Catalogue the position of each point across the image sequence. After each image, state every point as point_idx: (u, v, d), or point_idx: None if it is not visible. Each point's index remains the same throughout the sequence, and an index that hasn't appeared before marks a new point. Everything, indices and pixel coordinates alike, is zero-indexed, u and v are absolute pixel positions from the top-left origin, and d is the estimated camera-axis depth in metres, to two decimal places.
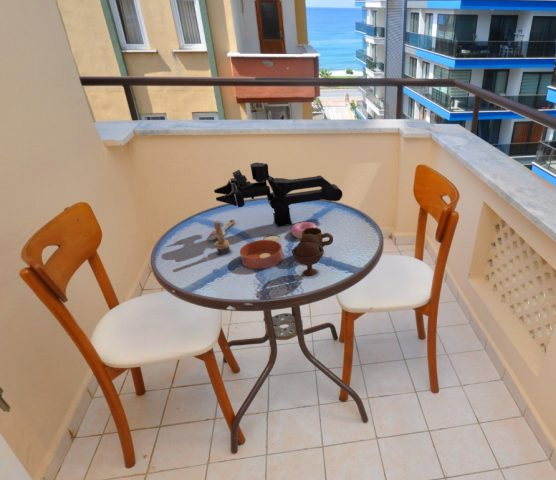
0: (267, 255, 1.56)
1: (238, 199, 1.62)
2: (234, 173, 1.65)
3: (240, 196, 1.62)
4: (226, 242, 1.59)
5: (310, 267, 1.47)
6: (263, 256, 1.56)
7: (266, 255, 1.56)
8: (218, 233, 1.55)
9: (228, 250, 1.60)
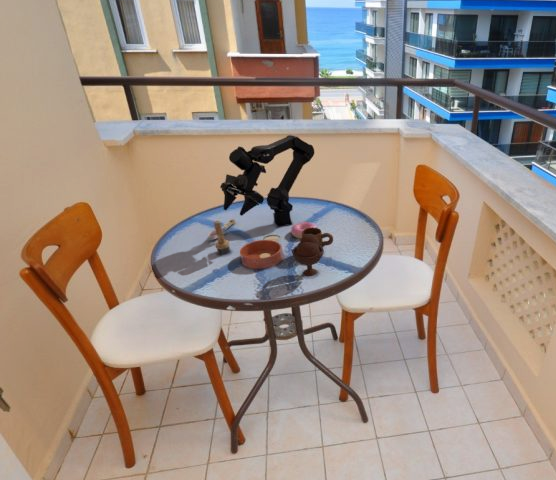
0: (267, 255, 1.56)
1: (257, 198, 1.55)
2: (228, 181, 1.53)
3: (257, 194, 1.55)
4: (226, 242, 1.59)
5: (310, 267, 1.47)
6: (263, 256, 1.56)
7: (266, 255, 1.56)
8: (218, 233, 1.55)
9: (228, 250, 1.60)
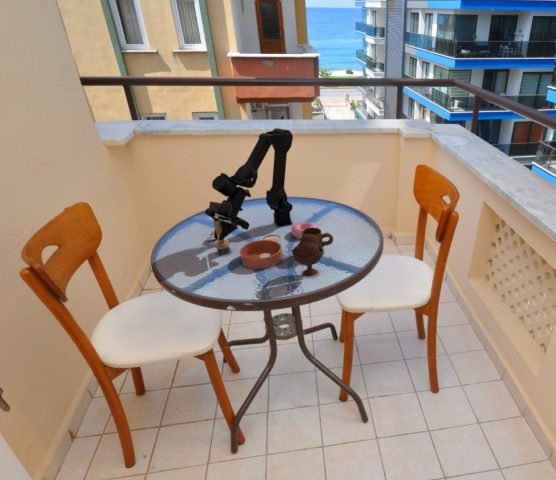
0: (267, 255, 1.56)
1: (242, 225, 1.53)
2: (212, 208, 1.50)
3: (242, 221, 1.52)
4: (226, 242, 1.59)
5: (310, 267, 1.47)
6: (263, 256, 1.56)
7: (266, 255, 1.56)
8: (218, 233, 1.55)
9: (228, 250, 1.60)
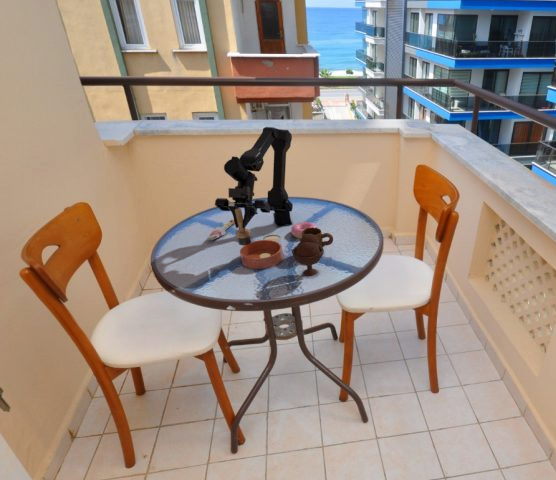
0: (267, 255, 1.56)
1: (267, 207, 1.49)
2: (234, 195, 1.43)
3: (266, 203, 1.48)
4: (247, 230, 1.52)
5: (310, 267, 1.47)
6: (263, 256, 1.56)
7: (266, 255, 1.56)
8: (240, 221, 1.48)
9: (250, 238, 1.53)
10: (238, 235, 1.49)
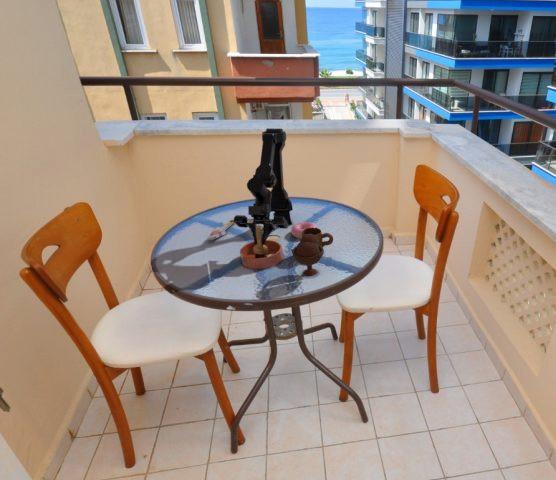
0: None
1: (285, 223, 1.52)
2: (254, 212, 1.46)
3: (285, 220, 1.52)
4: (264, 246, 1.55)
5: (310, 267, 1.47)
6: None
7: None
8: (260, 238, 1.51)
9: None
10: (256, 251, 1.52)
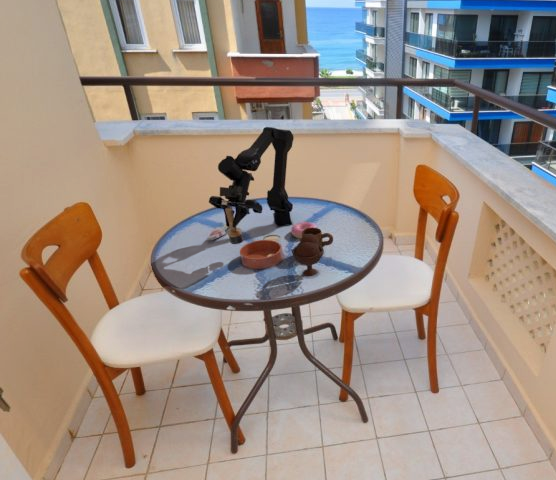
0: None
1: (258, 207, 1.49)
2: (225, 194, 1.43)
3: (257, 204, 1.48)
4: (238, 229, 1.52)
5: (310, 267, 1.47)
6: None
7: None
8: (231, 220, 1.49)
9: (241, 237, 1.53)
10: (229, 234, 1.50)
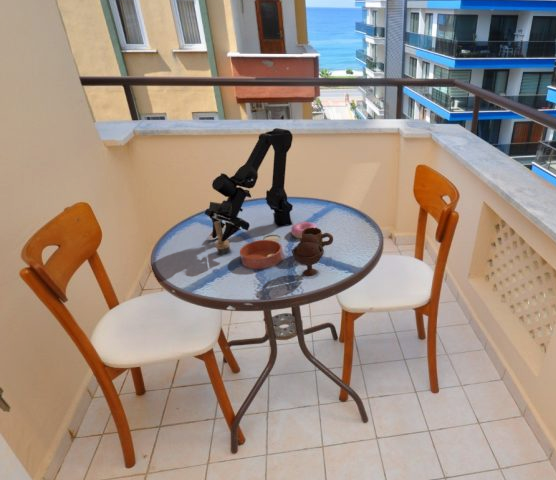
0: None
1: (243, 225, 1.53)
2: (212, 209, 1.50)
3: (242, 222, 1.52)
4: (226, 242, 1.59)
5: (310, 267, 1.47)
6: None
7: None
8: (218, 233, 1.55)
9: (228, 250, 1.60)
10: (216, 245, 1.58)
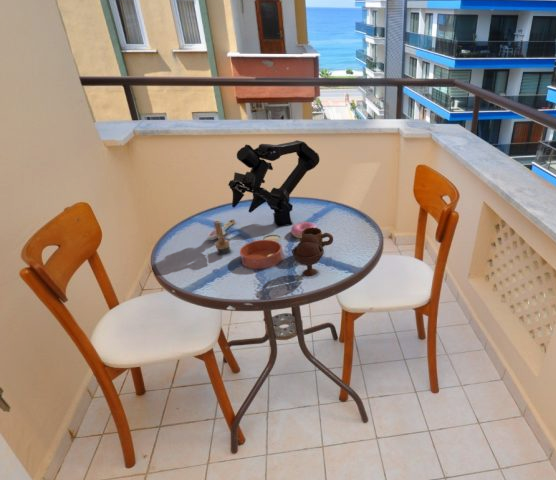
0: None
1: (266, 195, 1.58)
2: (237, 179, 1.56)
3: (265, 191, 1.57)
4: (226, 242, 1.59)
5: (310, 267, 1.47)
6: None
7: None
8: (218, 233, 1.55)
9: (228, 250, 1.60)
10: (216, 245, 1.58)
